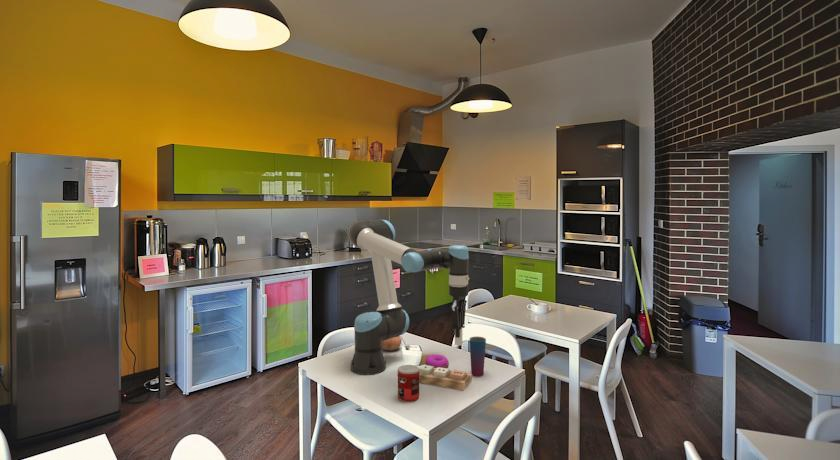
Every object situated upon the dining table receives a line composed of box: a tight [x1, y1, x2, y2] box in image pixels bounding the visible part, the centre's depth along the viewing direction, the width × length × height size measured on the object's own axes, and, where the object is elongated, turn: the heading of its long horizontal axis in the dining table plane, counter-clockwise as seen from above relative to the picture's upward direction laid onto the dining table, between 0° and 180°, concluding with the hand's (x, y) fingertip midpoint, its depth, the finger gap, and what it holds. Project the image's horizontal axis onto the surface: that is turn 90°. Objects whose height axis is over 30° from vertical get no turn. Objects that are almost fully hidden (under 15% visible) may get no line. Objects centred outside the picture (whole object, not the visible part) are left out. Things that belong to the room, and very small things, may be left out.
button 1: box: [418, 364, 434, 375], centre depth 183 cm, size 5×5×2 cm
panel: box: [419, 368, 473, 391], centre depth 180 cm, size 22×10×3 cm, turn 66°
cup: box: [469, 335, 487, 377], centre depth 187 cm, size 7×7×15 cm
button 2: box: [434, 367, 450, 378], centre depth 180 cm, size 5×5×2 cm
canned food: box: [397, 364, 420, 403], centre depth 165 cm, size 8×8×11 cm
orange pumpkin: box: [382, 335, 402, 351], centre depth 218 cm, size 11×11×8 cm
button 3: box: [450, 369, 467, 381], centre depth 177 cm, size 5×5×2 cm
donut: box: [424, 353, 449, 368], centre depth 196 cm, size 10×10×4 cm
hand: (458, 344), depth 176 cm, fingers closed
